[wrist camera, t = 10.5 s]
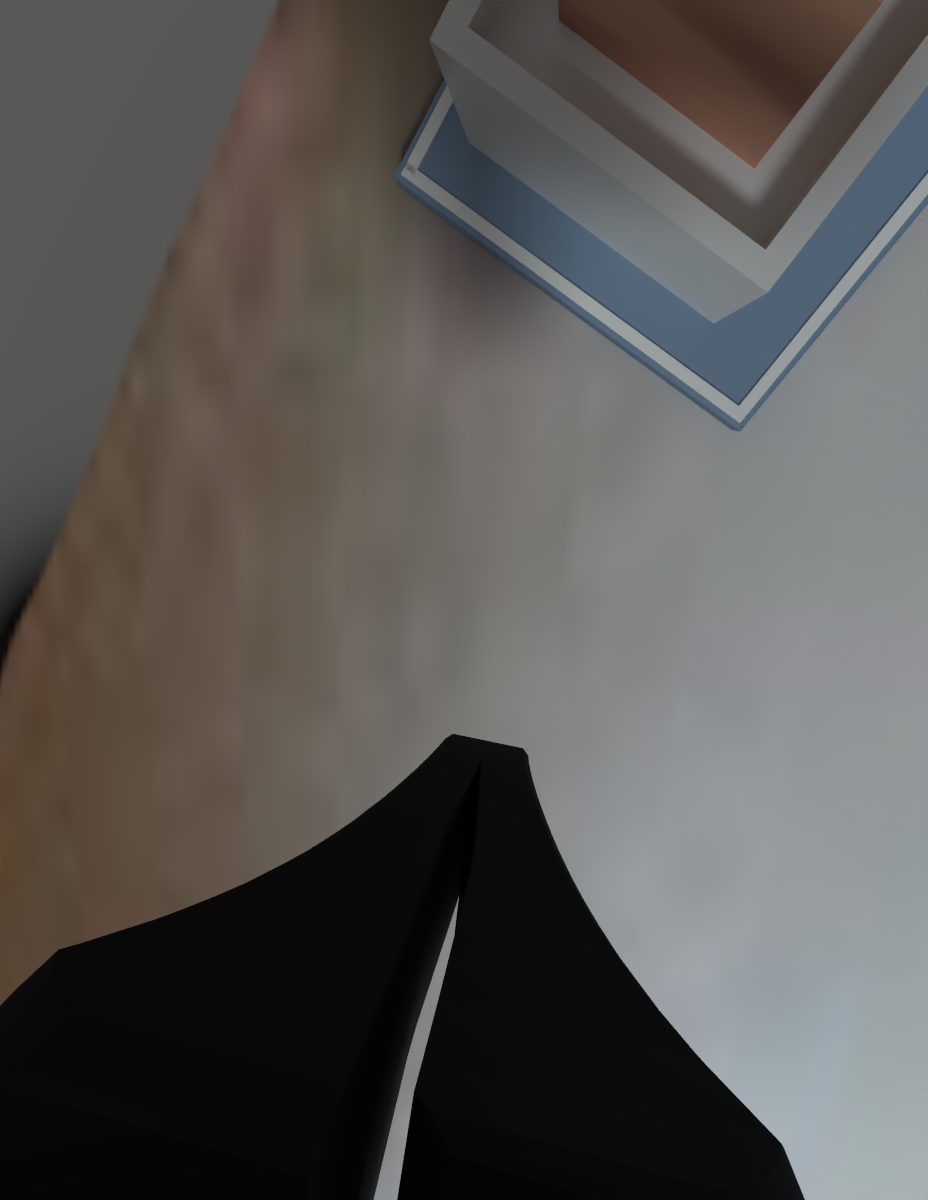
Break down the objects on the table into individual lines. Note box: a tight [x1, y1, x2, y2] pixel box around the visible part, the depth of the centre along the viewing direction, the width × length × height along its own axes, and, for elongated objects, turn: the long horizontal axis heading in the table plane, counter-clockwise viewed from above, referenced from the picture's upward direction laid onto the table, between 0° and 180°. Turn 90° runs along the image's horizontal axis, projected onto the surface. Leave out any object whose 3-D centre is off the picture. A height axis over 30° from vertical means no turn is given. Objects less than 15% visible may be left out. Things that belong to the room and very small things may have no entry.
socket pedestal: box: [429, 0, 928, 323], centre depth 12 cm, size 8×8×4 cm
